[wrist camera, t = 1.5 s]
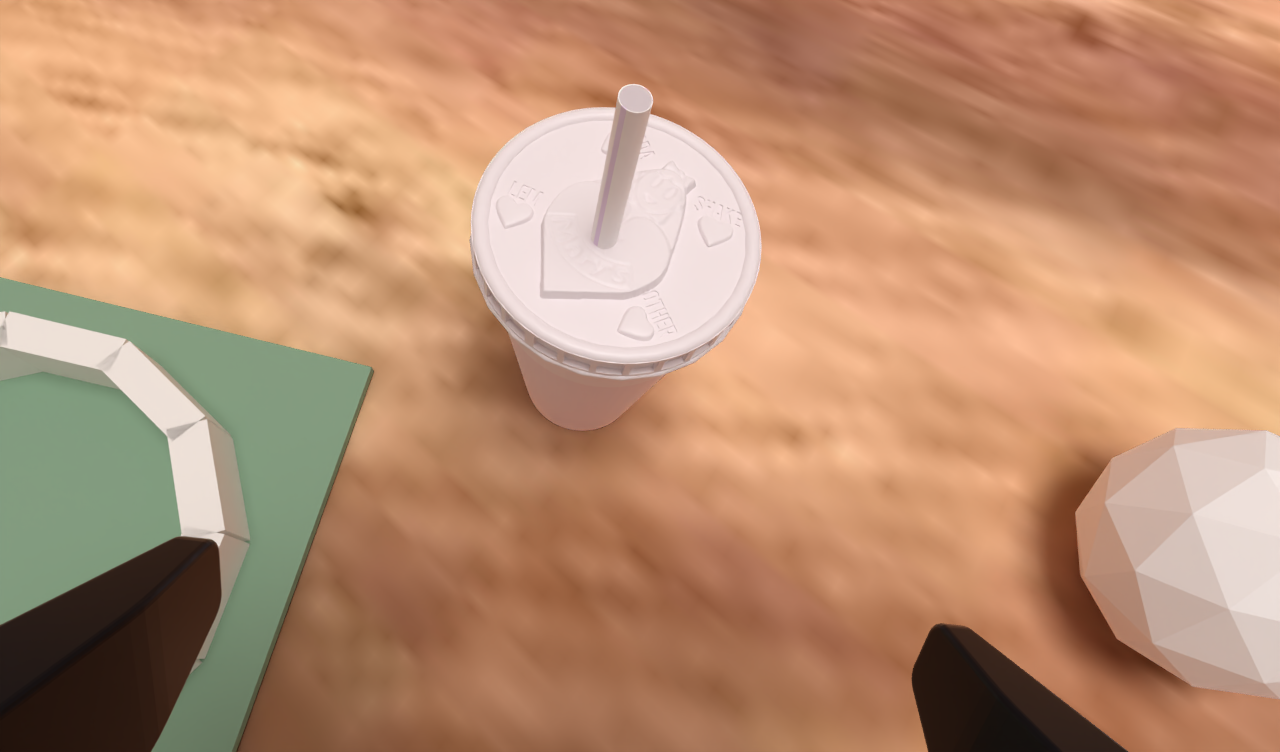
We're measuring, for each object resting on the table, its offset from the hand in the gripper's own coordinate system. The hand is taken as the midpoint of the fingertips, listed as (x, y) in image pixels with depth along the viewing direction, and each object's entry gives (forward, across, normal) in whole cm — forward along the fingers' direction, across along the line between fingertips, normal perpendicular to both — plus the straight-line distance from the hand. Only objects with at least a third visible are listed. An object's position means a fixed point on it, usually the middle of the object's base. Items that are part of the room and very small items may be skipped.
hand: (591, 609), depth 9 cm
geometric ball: (+13, -20, +7) cm, 24 cm away
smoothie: (+15, 0, +4) cm, 16 cm away
